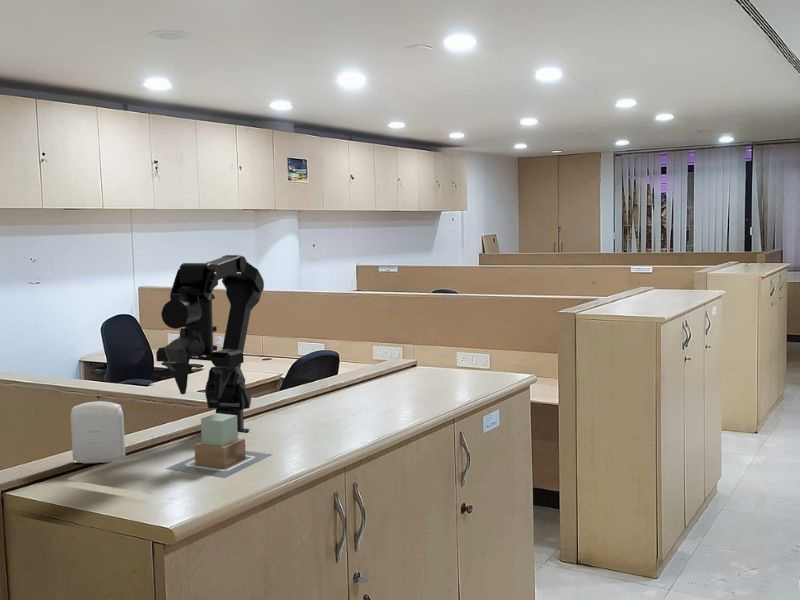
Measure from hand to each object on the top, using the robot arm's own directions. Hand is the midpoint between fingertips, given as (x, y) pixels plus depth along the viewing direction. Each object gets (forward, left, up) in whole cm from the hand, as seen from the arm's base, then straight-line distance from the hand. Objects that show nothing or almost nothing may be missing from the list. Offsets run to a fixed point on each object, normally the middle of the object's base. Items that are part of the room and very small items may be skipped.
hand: (200, 395), depth 164 cm
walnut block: (+7, +10, -11) cm, 16 cm away
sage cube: (+7, +10, -7) cm, 14 cm away
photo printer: (+14, -15, -12) cm, 24 cm away
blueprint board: (+7, +10, -12) cm, 17 cm away
